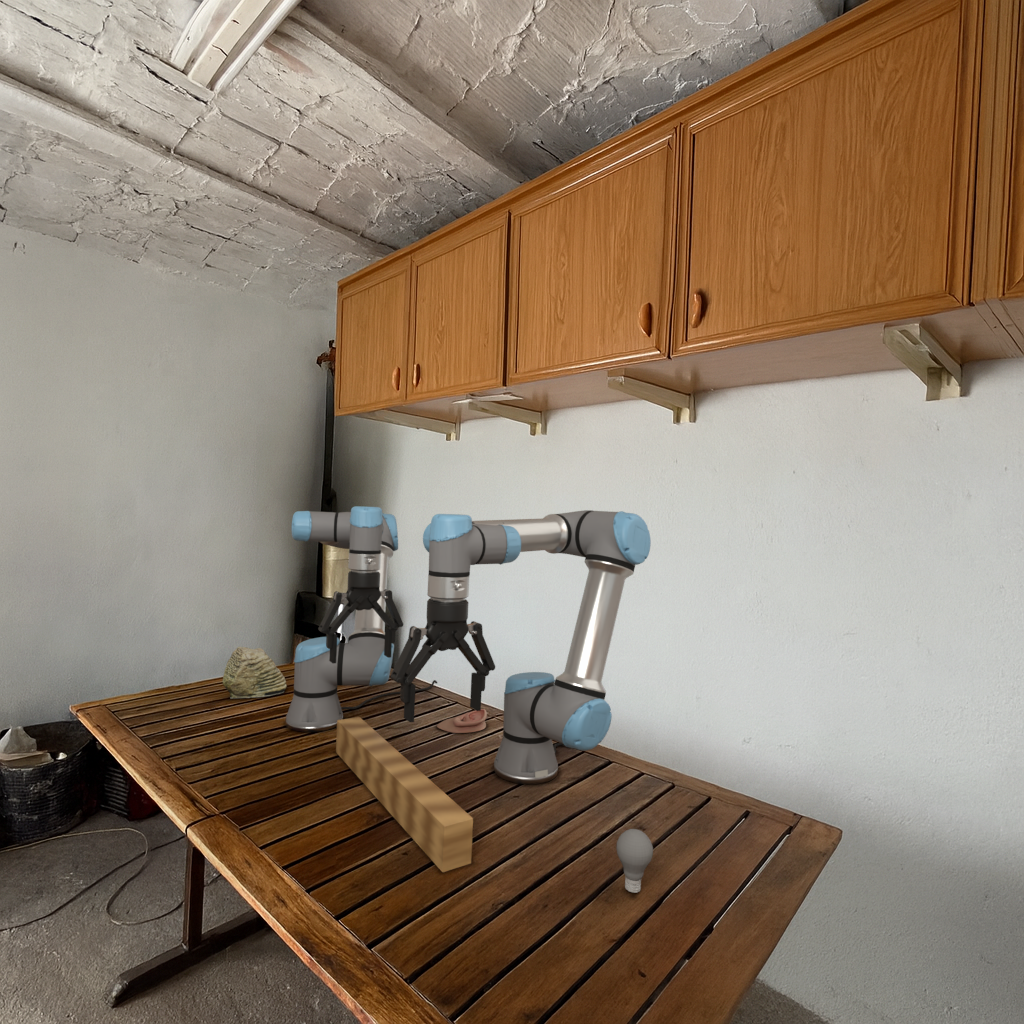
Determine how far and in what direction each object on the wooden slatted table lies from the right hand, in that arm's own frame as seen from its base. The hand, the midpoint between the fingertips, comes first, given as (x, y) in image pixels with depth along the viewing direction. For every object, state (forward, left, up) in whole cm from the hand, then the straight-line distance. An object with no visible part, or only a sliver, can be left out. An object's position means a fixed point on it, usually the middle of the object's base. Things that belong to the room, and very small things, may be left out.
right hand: (443, 714), depth 116 cm
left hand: (-13, -41, 0) cm, 43 cm away
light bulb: (-13, +33, -25) cm, 43 cm away
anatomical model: (-48, -39, -25) cm, 67 cm away
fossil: (-22, -103, -25) cm, 109 cm away
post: (-7, -20, -25) cm, 33 cm away
